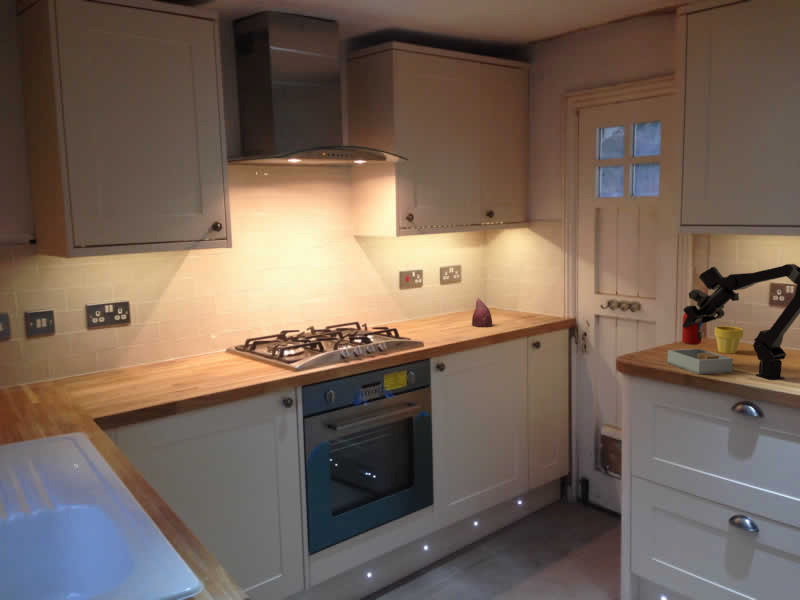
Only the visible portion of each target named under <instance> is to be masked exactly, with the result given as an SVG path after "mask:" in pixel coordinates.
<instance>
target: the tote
mask: <svg viewBox="0 0 800 600" xmlns="http://www.w3.org/2000/svg"><path fill="white" fill-rule="evenodd" d="M698 353H712V354H715V355H718V356H719V359H704V360H699V359H697V354H698ZM733 359H734V358H733V357H729V356H727V355H726V356H725V355H722V354H719V353H715V352H713V351H709V350H705V349H702V348H689V349H688V348H687V349H686V348H685V349H668V350H667V363H668V364H667V365H670V364H671V366H673V365H674V367H677V368H680V369H682V370H685V371H688V372H691V373H694V374H696V375H709V374H711V375H712V373H713V374H725V373H724V372H729V373H732V371H733V361H734V360H733Z"/></svg>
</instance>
